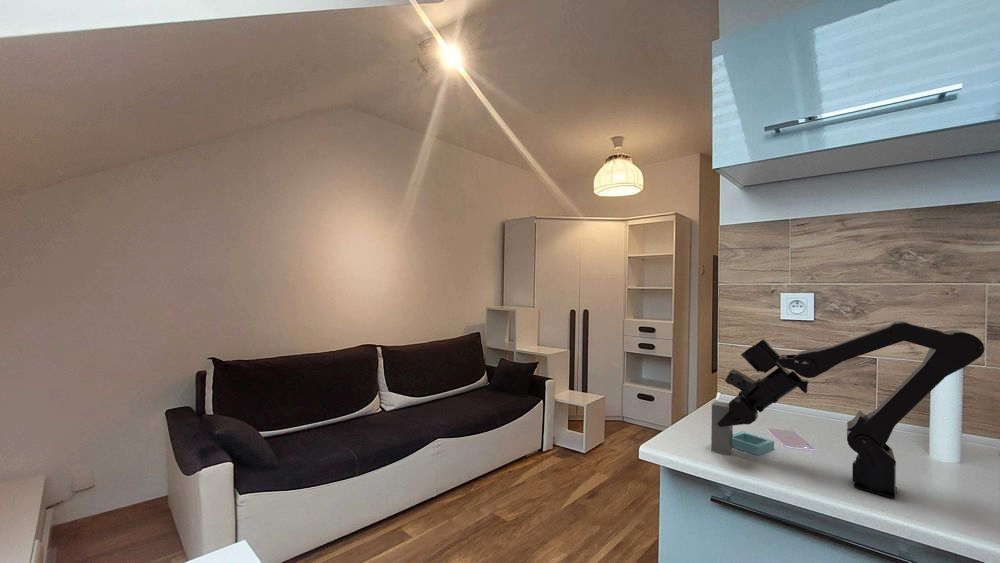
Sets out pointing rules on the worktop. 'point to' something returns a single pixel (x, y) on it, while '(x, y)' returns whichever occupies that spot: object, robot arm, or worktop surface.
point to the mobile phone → (790, 439)
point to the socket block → (752, 443)
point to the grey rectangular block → (721, 430)
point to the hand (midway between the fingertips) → (722, 420)
